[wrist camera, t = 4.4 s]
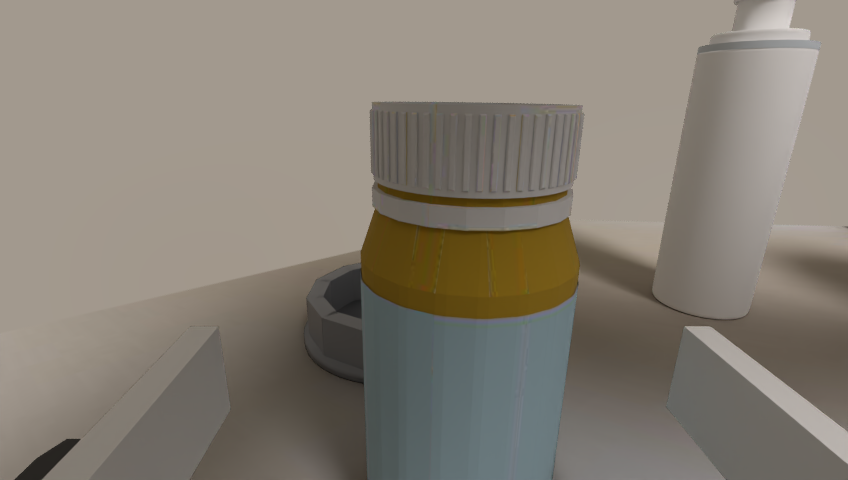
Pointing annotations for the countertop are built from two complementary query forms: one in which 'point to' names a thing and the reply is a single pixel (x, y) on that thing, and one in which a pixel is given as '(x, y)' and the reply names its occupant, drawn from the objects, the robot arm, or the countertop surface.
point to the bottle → (468, 288)
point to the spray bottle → (733, 160)
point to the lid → (336, 323)
